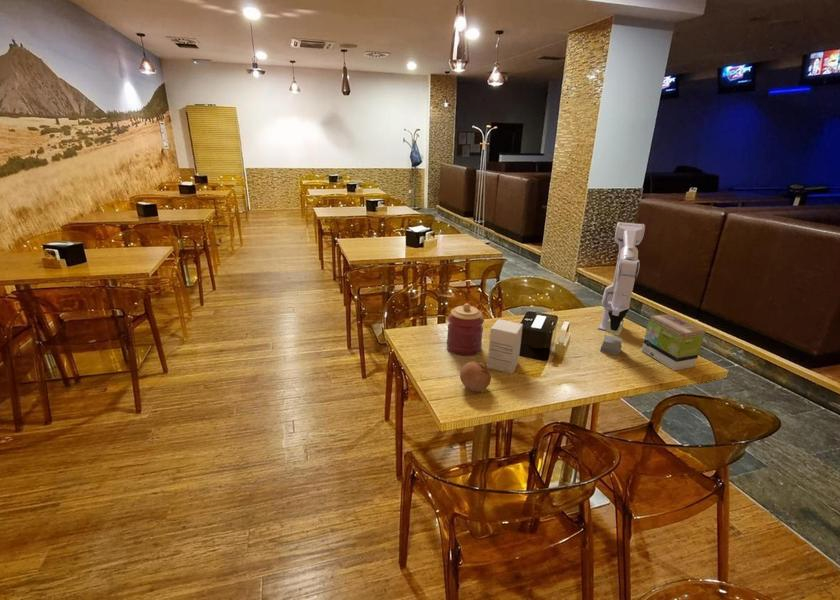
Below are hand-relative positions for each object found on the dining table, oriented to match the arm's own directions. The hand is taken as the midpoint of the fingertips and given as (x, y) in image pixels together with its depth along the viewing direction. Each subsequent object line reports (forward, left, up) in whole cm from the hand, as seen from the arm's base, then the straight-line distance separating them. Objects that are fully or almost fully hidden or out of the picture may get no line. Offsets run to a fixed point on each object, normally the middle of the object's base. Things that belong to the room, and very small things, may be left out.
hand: (615, 327), depth 155 cm
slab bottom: (0, 0, -10) cm, 10 cm away
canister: (+32, -45, -10) cm, 56 cm away
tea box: (-6, +18, -10) cm, 21 cm away
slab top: (0, 0, -7) cm, 7 cm away
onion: (+54, -29, -10) cm, 62 cm away
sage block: (0, 0, -2) cm, 2 cm away
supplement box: (+35, -28, -10) cm, 46 cm away
